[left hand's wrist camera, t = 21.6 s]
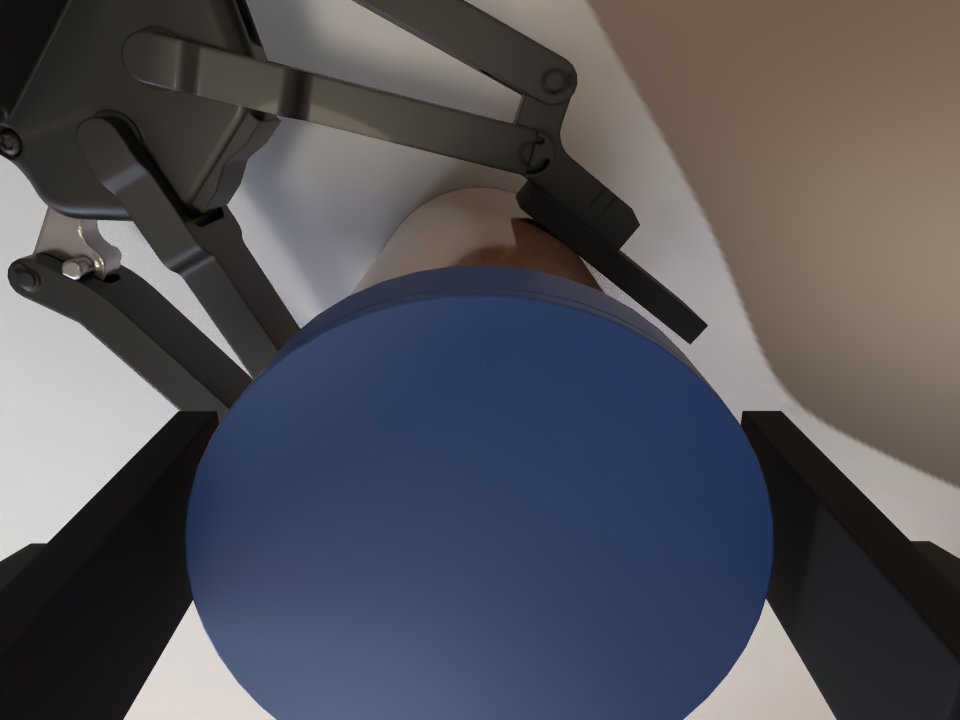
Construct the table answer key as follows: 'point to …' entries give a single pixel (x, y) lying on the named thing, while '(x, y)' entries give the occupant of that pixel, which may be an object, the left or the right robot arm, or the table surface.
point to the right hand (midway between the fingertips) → (592, 422)
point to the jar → (475, 240)
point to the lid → (479, 512)
